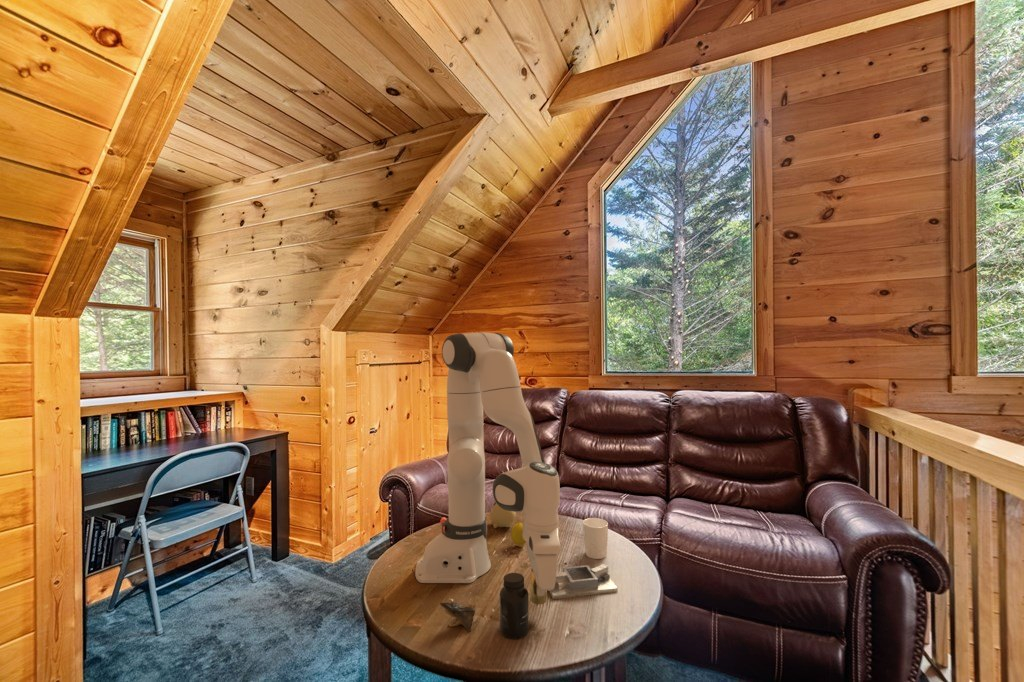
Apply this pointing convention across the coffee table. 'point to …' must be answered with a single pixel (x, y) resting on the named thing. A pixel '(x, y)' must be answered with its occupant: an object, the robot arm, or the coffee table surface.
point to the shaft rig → (582, 582)
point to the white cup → (595, 537)
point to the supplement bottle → (514, 607)
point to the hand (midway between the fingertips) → (538, 587)
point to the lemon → (517, 534)
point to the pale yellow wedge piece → (501, 517)
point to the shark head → (459, 614)
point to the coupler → (533, 595)
